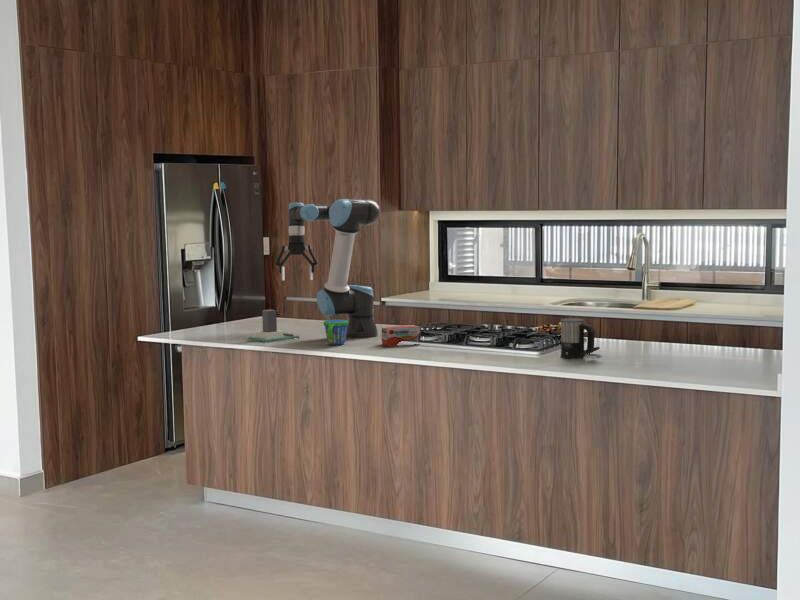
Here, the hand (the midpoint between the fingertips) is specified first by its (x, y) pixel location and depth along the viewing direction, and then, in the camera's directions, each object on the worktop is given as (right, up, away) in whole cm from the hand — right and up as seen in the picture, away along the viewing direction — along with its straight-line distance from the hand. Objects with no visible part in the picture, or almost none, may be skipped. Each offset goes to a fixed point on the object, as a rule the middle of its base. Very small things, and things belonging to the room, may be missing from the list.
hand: (297, 280), depth 456 cm
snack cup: (+21, -29, -40) cm, 54 cm away
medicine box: (+49, -29, -43) cm, 72 cm away
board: (-8, -27, -22) cm, 36 cm away
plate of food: (+123, -25, -14) cm, 126 cm away
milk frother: (+120, -32, -79) cm, 147 cm away
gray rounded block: (-10, -26, -24) cm, 36 cm away
